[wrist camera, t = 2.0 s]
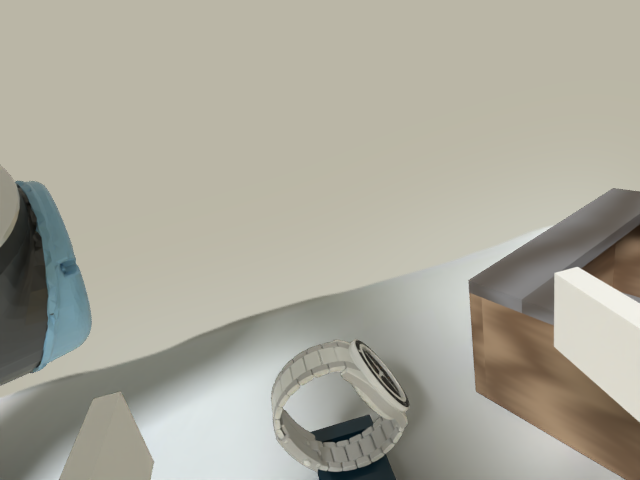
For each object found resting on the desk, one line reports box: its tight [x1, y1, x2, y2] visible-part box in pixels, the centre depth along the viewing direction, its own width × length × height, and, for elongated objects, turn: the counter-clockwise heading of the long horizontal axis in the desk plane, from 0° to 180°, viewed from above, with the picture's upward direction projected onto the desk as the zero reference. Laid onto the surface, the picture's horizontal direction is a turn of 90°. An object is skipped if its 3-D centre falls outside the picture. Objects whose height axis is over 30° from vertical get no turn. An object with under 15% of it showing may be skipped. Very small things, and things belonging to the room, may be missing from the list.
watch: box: [271, 339, 410, 480], centre depth 28 cm, size 6×8×11 cm
